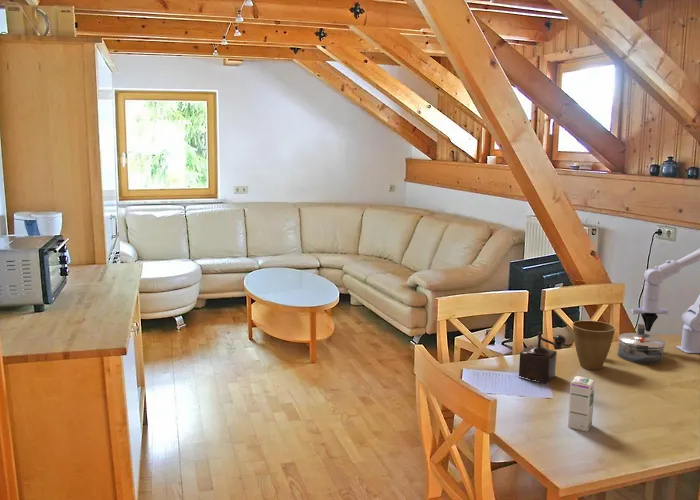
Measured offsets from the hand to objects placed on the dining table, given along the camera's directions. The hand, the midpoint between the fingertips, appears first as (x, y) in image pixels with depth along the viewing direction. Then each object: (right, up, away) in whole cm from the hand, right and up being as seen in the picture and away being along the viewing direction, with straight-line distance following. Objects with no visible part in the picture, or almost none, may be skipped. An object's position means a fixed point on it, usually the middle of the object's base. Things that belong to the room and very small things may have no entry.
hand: (647, 330), depth 261 cm
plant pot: (-31, -11, -20) cm, 39 cm away
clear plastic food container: (-7, -9, -9) cm, 15 cm away
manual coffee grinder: (-53, -13, -33) cm, 63 cm away
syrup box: (-53, -20, -70) cm, 90 cm away
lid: (-6, -3, -8) cm, 11 cm away
